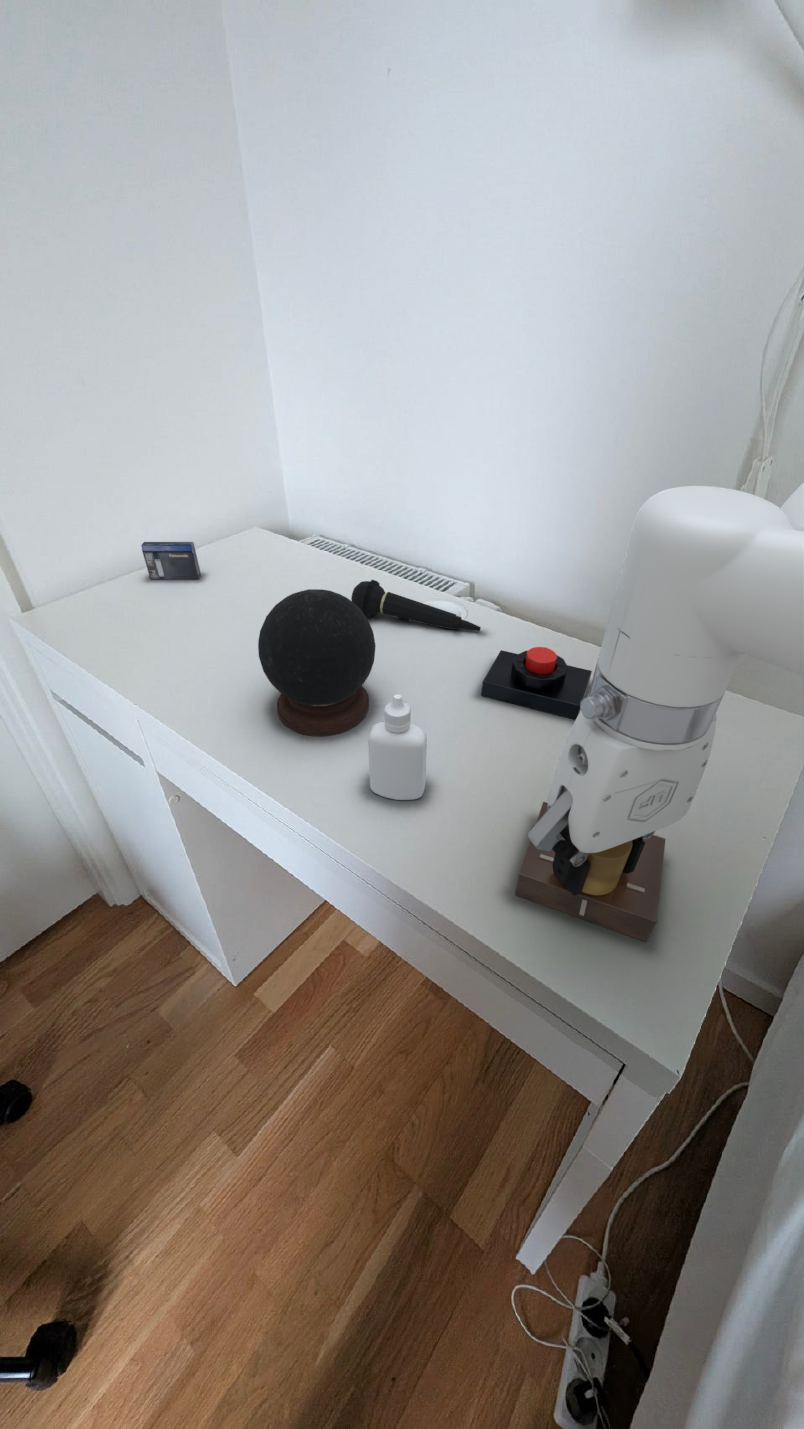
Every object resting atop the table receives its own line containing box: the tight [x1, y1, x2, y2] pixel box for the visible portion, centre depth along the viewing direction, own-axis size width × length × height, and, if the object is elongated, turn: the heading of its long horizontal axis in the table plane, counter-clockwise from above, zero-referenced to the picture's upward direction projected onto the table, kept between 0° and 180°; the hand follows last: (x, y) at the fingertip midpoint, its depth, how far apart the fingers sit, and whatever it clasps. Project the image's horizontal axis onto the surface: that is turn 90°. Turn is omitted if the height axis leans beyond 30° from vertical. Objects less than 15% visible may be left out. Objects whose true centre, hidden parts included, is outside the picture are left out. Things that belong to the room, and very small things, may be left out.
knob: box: [582, 840, 632, 895], centre depth 47 cm, size 4×4×5 cm
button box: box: [480, 649, 593, 721], centre depth 73 cm, size 12×8×4 cm, turn 66°
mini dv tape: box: [140, 541, 202, 580], centre depth 97 cm, size 8×2×6 cm, turn 90°
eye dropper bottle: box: [367, 694, 428, 801], centre depth 56 cm, size 4×6×12 cm
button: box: [525, 646, 558, 674], centre depth 71 cm, size 4×4×2 cm
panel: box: [514, 801, 667, 943], centre depth 50 cm, size 11×11×3 cm
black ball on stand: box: [257, 588, 376, 737], centre depth 66 cm, size 13×13×15 cm
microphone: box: [350, 579, 482, 632], centre depth 86 cm, size 6×6×20 cm
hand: (592, 868), depth 48 cm, fingers closed on knob, 4 cm apart
